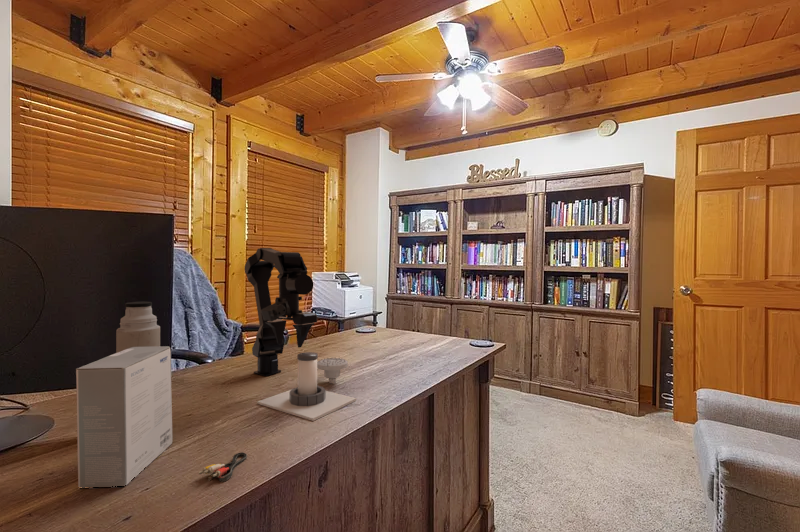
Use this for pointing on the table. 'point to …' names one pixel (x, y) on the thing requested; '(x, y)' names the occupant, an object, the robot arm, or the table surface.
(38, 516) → the table surface
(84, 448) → the hard drive box
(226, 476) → the composite cable
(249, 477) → the table surface
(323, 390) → the socket
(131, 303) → the thermos bottle
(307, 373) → the canister
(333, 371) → the showerhead
